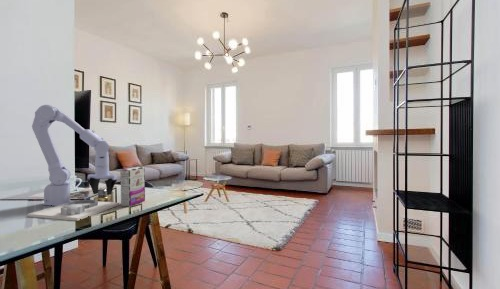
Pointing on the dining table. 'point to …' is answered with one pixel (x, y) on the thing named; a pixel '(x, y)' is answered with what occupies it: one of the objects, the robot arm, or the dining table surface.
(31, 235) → the dining table surface
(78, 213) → the carrier plate
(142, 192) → the candy bar box
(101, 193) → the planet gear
